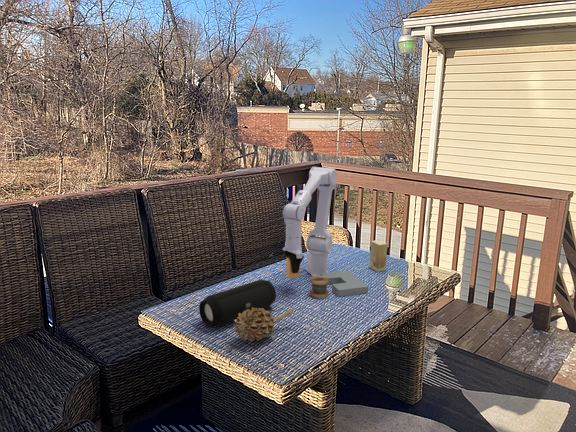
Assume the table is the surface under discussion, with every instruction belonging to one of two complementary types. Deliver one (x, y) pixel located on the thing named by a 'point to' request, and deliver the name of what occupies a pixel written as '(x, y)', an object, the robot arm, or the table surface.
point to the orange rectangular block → (289, 271)
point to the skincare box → (378, 255)
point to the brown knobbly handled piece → (257, 323)
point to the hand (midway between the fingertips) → (293, 270)
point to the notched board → (345, 283)
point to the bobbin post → (319, 286)
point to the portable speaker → (236, 302)
